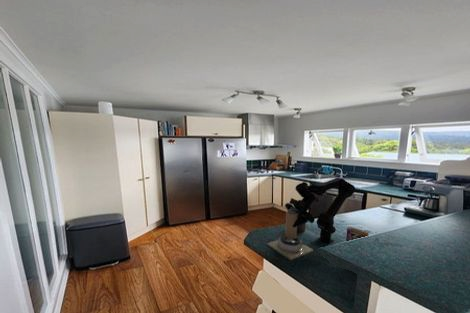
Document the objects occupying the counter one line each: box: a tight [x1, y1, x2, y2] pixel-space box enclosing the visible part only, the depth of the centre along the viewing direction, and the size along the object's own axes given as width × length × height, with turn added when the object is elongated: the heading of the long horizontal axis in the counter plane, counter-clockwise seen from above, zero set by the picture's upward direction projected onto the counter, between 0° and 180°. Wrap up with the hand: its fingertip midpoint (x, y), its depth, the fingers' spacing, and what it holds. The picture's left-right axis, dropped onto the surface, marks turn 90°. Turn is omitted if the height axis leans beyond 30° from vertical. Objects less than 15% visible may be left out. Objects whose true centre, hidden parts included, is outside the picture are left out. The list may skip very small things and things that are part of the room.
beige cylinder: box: [284, 210, 298, 239], centre depth 112 cm, size 6×6×14 cm
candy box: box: [345, 226, 370, 242], centre depth 103 cm, size 9×4×15 cm, turn 47°
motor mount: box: [267, 234, 314, 261], centre depth 113 cm, size 17×17×5 cm
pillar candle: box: [293, 206, 307, 233], centre depth 138 cm, size 10×10×15 cm
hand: (289, 224), depth 111 cm, fingers closed on beige cylinder, 6 cm apart
